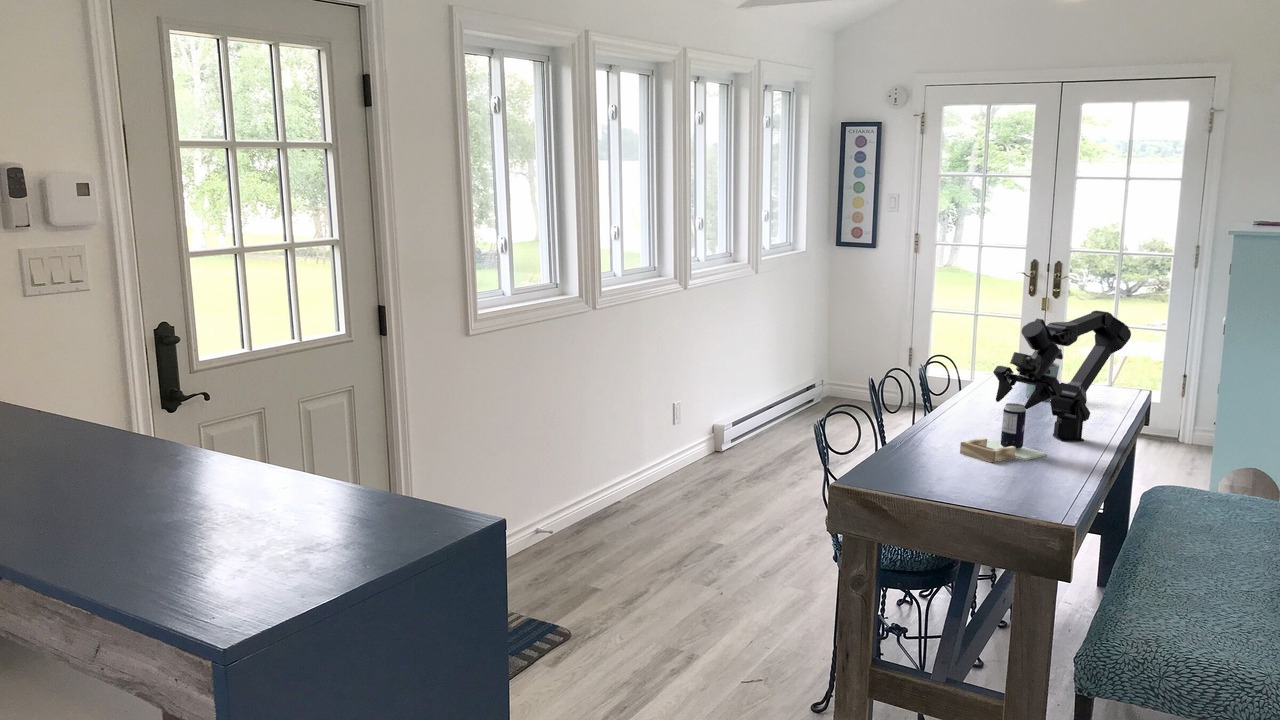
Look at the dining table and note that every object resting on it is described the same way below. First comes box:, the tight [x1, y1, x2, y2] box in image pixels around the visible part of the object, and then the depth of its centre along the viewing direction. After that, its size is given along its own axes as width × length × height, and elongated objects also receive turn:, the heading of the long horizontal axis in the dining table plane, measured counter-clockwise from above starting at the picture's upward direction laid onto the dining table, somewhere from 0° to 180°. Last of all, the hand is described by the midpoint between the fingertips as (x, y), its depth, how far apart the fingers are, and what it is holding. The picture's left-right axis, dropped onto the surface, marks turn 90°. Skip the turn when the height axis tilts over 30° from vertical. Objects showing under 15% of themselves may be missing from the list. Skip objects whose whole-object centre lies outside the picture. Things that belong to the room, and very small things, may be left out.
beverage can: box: [1000, 402, 1027, 450], centre depth 266 cm, size 6×6×12 cm
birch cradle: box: [959, 437, 1016, 463], centre depth 261 cm, size 9×10×3 cm
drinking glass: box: [1025, 362, 1060, 402], centre depth 329 cm, size 10×10×12 cm
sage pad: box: [987, 439, 1048, 461], centre depth 267 cm, size 9×16×1 cm, turn 32°
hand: (1010, 404), depth 263 cm, fingers open, 9 cm apart
